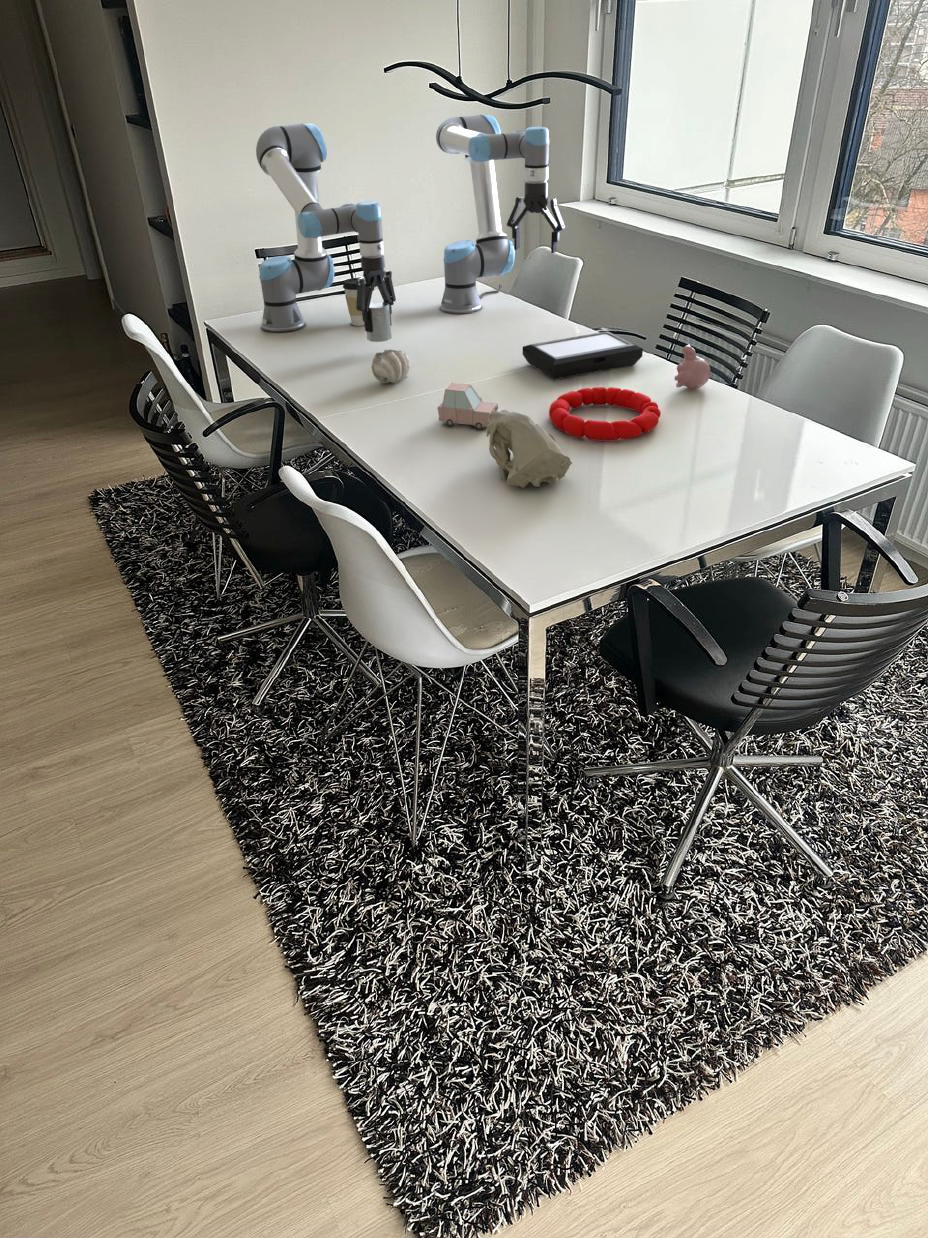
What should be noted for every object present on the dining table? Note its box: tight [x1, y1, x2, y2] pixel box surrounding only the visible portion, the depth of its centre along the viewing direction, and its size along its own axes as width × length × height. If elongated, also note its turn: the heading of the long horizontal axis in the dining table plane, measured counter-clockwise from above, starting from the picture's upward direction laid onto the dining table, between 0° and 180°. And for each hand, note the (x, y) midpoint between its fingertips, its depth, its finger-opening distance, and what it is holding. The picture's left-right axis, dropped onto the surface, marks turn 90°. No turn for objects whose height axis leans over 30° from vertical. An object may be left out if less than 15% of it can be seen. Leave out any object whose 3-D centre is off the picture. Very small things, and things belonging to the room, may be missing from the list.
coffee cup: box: [342, 277, 369, 327], centre depth 323 cm, size 10×10×15 cm
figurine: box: [674, 344, 711, 390], centre depth 259 cm, size 9×11×12 cm
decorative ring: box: [548, 386, 661, 442], centre depth 242 cm, size 7×30×30 cm
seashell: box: [371, 349, 411, 384], centre depth 271 cm, size 10×15×10 cm
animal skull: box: [485, 409, 573, 489], centre depth 216 cm, size 17×25×20 cm
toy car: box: [437, 382, 499, 431], centre depth 243 cm, size 9×15×10 cm, turn 70°
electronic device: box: [522, 330, 644, 381], centre depth 281 cm, size 32×6×20 cm
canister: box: [366, 300, 392, 343], centre depth 293 cm, size 8×8×11 cm
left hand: (378, 328), depth 294 cm, fingers closed on canister, 8 cm apart
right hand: (535, 250), depth 301 cm, fingers open, 13 cm apart
